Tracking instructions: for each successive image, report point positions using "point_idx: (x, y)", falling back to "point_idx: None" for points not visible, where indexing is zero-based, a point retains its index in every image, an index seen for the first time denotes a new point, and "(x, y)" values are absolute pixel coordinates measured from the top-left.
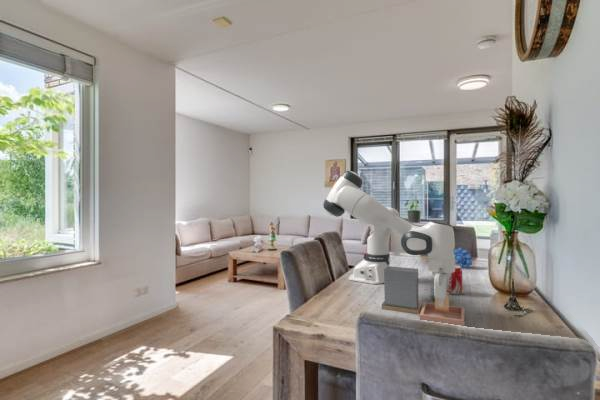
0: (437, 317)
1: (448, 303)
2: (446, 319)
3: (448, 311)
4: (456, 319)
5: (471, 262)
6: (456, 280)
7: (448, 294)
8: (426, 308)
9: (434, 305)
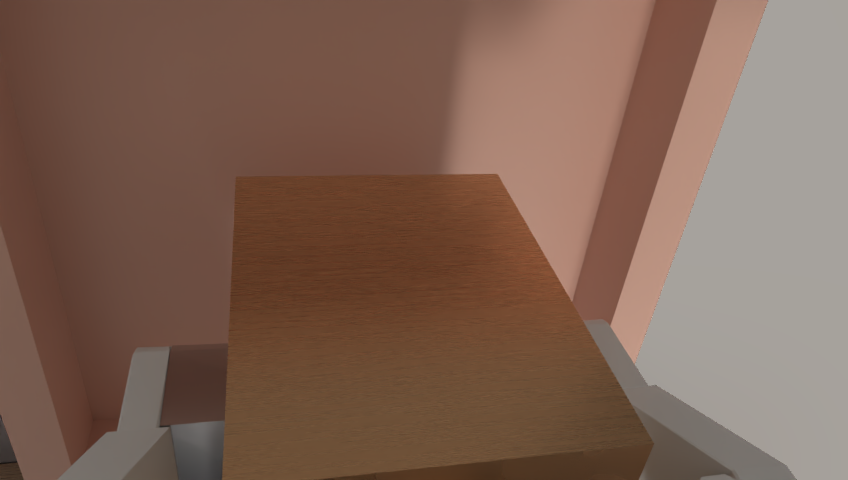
0: (660, 288)
1: (562, 289)
2: (694, 175)
3: (500, 189)
4: (727, 33)
5: None
6: None
7: (534, 462)
8: (110, 419)
9: (57, 382)
